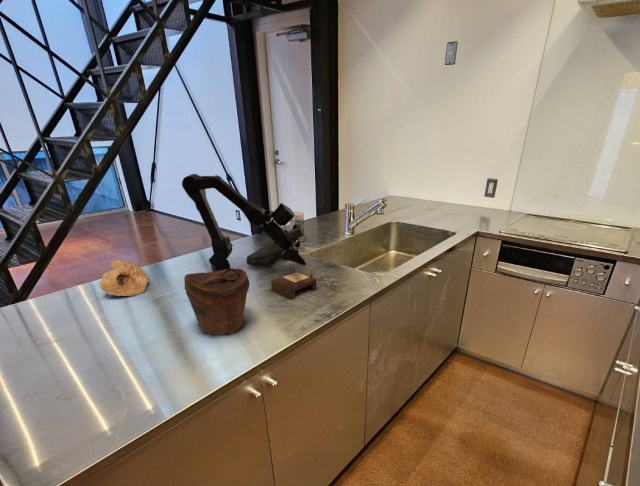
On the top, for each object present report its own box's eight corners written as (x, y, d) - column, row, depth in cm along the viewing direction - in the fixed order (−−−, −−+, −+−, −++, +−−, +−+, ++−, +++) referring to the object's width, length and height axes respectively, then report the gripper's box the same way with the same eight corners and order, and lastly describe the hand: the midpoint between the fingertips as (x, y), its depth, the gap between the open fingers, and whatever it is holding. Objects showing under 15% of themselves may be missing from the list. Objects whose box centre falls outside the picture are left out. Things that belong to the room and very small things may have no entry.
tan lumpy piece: (143, 310, 139) (143, 296, 134) (98, 305, 134) (96, 290, 128) (151, 277, 150) (151, 262, 145) (109, 271, 145) (108, 256, 140)
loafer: (241, 268, 161) (239, 245, 156) (281, 250, 184) (280, 229, 179) (260, 273, 157) (259, 249, 152) (298, 253, 180) (298, 232, 175)
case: (263, 314, 125) (259, 263, 116) (233, 345, 108) (225, 288, 99) (215, 307, 129) (208, 257, 120) (179, 335, 112) (167, 279, 103)
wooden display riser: (290, 298, 136) (290, 288, 134) (271, 290, 142) (270, 279, 140) (316, 288, 144) (316, 278, 142) (297, 280, 151) (296, 270, 149)
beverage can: (296, 280, 151) (295, 251, 145) (293, 274, 156) (293, 246, 151) (312, 279, 153) (311, 250, 147) (309, 273, 158) (308, 245, 152)
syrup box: (294, 242, 196) (293, 214, 189) (290, 239, 200) (289, 211, 193) (304, 240, 198) (303, 213, 191) (299, 237, 203) (299, 210, 196)
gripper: (289, 225, 135) (319, 255, 141) (293, 213, 151) (320, 241, 157) (268, 246, 138) (299, 275, 144) (274, 232, 155) (302, 258, 160)
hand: (306, 261), depth 151 cm, fingers open, 7 cm apart
